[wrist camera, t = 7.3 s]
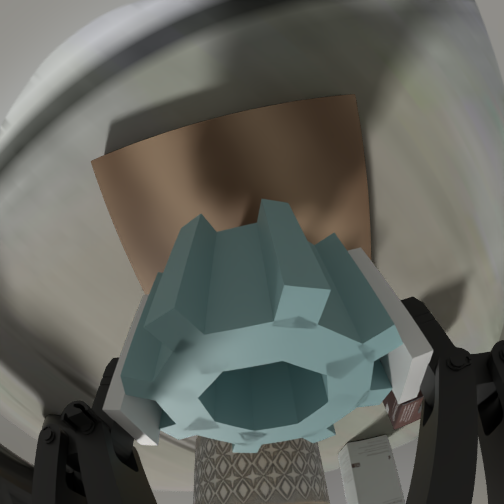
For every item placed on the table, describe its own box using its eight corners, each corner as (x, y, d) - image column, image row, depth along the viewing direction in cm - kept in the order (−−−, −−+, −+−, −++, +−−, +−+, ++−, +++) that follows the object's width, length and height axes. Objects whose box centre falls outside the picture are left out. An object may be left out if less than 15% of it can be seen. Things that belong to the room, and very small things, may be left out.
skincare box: (387, 433, 39) (409, 501, 26) (374, 447, 42) (393, 510, 28) (343, 442, 38) (362, 517, 25) (334, 455, 41) (349, 523, 28)
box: (376, 350, 27) (402, 405, 20) (425, 332, 27) (455, 381, 20) (373, 381, 30) (392, 431, 23) (416, 365, 29) (440, 410, 23)
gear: (197, 366, 16) (189, 457, 11) (132, 232, 12) (71, 324, 7) (348, 336, 15) (382, 423, 10) (337, 182, 11) (415, 252, 6)
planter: (336, 425, 35) (355, 501, 23) (258, 462, 40) (264, 525, 29) (250, 394, 29) (258, 501, 18) (174, 437, 34) (168, 514, 23)
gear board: (214, 397, 29) (213, 452, 23) (103, 155, 17) (45, 183, 10) (359, 367, 28) (379, 419, 22) (343, 95, 16) (399, 92, 10)
